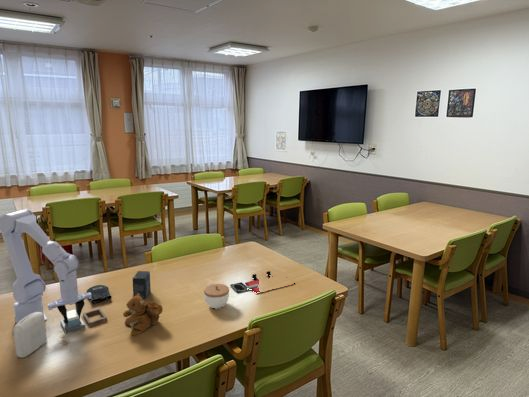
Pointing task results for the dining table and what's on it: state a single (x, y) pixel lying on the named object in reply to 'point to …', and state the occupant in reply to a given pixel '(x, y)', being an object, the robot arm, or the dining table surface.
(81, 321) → the gray square tray
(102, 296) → the electronic device
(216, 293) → the lidded jar
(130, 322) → the stuffed squirrel
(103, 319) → the brown square frame
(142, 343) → the dining table surface
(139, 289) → the box
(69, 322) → the plug
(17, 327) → the photo printer
